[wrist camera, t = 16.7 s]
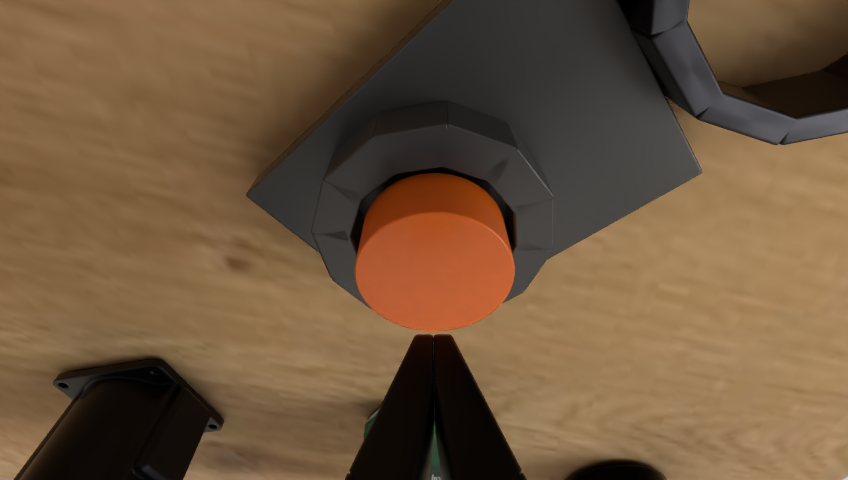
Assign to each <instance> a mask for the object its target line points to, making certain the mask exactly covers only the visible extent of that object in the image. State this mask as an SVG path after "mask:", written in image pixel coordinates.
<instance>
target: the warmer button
mask: <svg viewBox="0 0 848 480" xmlns="http://www.w3.org/2000/svg"><path fill="white" fill-rule="evenodd" d="M354 273H355V281H356V284H357V287H358V290H359V292H360V294H361V296H362V297H363V299H364V300H365V302H366V303H367V304H368V305H369V306H370V307H371V308H372V309H373V310H374V311H375V312H376V313H378V314H379V315H381V316H382V317H384V318H385V319H387V320H389V321H391V322H393V323H396V324H398V325H401V326H404V327H407V328H412V329H417V330H425V331H443V330H451V329H457V328H461V327H465V326H467V325H470V324H473V323H475V322H477V321H479V320H481V319H483V318H485V317H486V316H488V315H489V314H491V313H492V312H493V311H495V310H496V309H497V308H498V307H499V306H500V305H501V304H502V302H503V301H504V300H505V299H506V297H507V295H508V294H509V292H510V290H511V287H512V284H513V281H514V276H515V265H514V259H513V255H512V251H511V247H510V243H509V239H508V235H507V231H506V228H505V224H504V220H503V216H502V213H501V211H500V209H499V207H498V205H497V203H496V202H495V201H494V199H493V198H492V197H491V196H490V195H489V194H488V193H487V192H486V191H485V190H484V189H482V188H481V187H480V186H478V185H477V184H475V183H473V182H471V181H469V180H467V179H464V178H462V177H458V176H455V175H451V174H443V173H426V174H419V175H414V176H410V177H407V178H404V179H402V180H400V181H398V182H396V183H394V184H392V185H391V186H389V187H388V188H386V189H385V190H384V191H382V192H381V193H380V194H379V195H378V196H377V197H376V199H375V200H374V201H373V202H372V204H371V206H370V207H369V209H368V211H367V214H366V216H365V220H364V225H363V229H362V234H361V239H360V243H359V248H358V253H357V257H356V262H355V272H354Z"/></svg>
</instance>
